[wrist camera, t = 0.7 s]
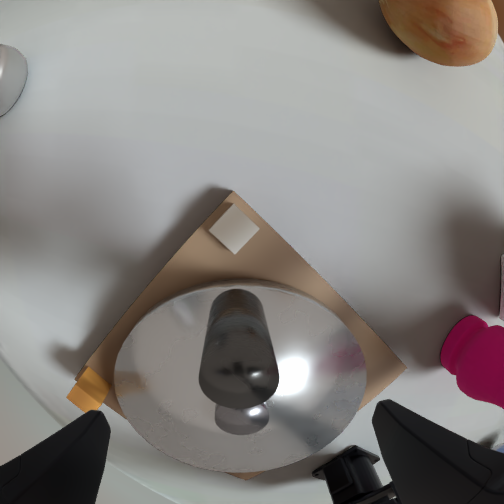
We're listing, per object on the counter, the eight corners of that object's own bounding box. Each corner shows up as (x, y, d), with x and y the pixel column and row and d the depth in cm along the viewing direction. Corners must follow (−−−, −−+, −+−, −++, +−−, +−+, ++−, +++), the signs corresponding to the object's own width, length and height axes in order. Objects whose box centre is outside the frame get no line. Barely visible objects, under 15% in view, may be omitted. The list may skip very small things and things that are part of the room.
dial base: (399, 359, 21) (421, 383, 17) (245, 470, 24) (247, 498, 20) (233, 190, 17) (233, 190, 13) (80, 369, 20) (61, 396, 16)
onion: (460, 92, 16) (540, 70, 7) (368, 63, 16) (448, 3, 6) (437, 12, 14) (495, -26, 4) (349, -20, 14) (395, -85, 4)
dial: (337, 446, 21) (360, 507, 14) (151, 454, 20) (136, 516, 13) (373, 271, 17) (447, 321, 10) (99, 280, 16) (30, 334, 9)
